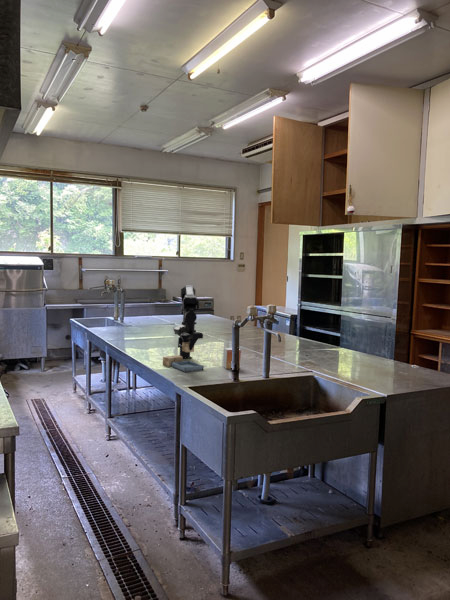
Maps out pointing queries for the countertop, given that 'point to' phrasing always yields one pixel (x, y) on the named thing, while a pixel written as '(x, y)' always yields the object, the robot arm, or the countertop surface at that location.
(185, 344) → the oak cube
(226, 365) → the small box
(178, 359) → the oak cube
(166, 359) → the oak cube
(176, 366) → the tray
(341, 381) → the countertop surface
